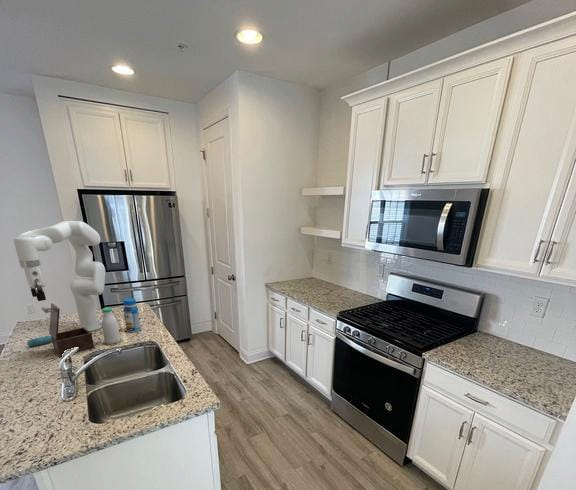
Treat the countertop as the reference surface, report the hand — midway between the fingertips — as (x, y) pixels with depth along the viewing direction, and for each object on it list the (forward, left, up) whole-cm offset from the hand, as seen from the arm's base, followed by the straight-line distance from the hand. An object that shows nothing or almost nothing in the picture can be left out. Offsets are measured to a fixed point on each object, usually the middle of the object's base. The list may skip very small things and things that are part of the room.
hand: (39, 298), depth 153 cm
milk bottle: (-27, +7, -30) cm, 41 cm away
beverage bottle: (-43, -3, -30) cm, 52 cm away
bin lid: (-4, +3, -12) cm, 13 cm away
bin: (-9, +3, -30) cm, 31 cm away
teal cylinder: (+2, -16, -30) cm, 34 cm away
